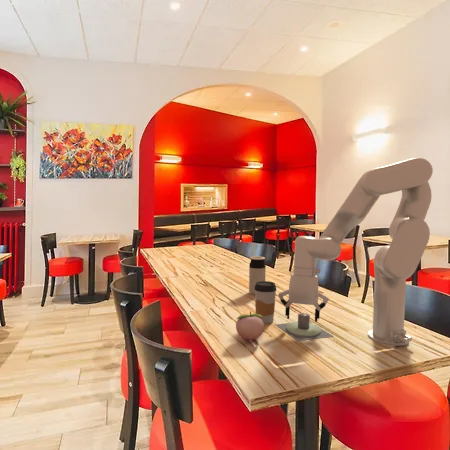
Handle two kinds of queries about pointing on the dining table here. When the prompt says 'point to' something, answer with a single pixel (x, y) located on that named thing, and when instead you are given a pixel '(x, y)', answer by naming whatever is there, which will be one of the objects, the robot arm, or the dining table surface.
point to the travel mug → (256, 272)
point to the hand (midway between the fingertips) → (301, 319)
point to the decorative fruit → (249, 326)
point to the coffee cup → (265, 300)
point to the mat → (300, 338)
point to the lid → (303, 327)
